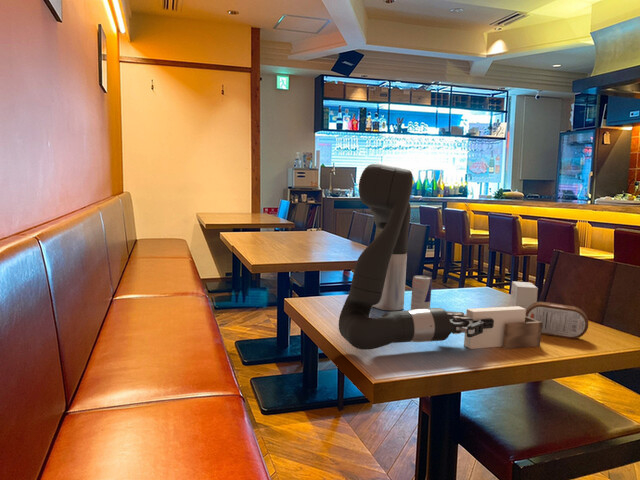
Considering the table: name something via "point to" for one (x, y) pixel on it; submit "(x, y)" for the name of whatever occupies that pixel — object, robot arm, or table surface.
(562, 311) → the tin
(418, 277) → the energy drink
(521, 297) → the small box
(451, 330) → the robot arm
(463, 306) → the table surface
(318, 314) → the table surface
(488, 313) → the white rectangular block
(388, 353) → the table surface
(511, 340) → the slot box
